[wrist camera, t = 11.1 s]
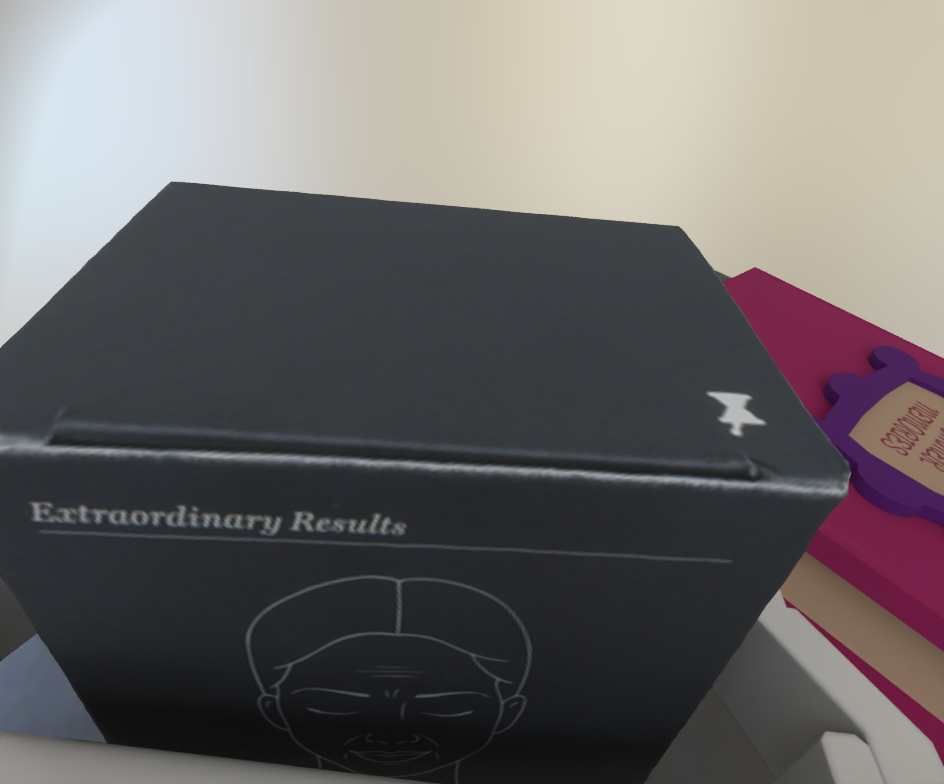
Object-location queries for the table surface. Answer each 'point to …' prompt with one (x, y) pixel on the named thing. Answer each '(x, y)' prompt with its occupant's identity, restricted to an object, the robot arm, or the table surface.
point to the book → (868, 491)
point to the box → (399, 485)
